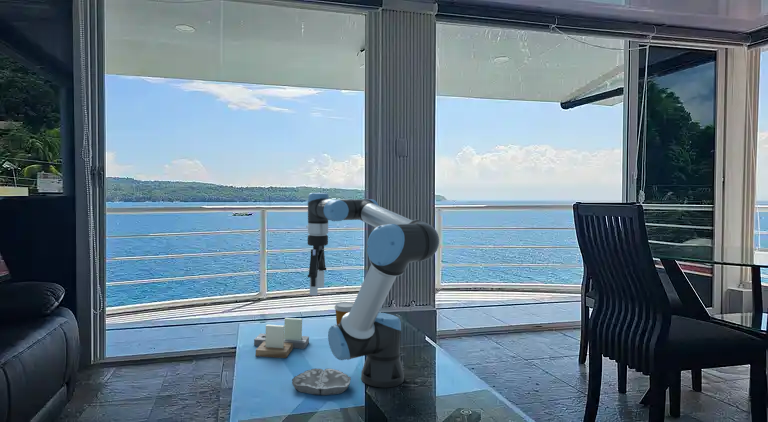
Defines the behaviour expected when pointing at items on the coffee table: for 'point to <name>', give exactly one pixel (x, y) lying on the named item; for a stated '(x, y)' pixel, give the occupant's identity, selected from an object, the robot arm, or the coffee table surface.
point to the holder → (274, 351)
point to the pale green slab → (274, 336)
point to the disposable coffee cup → (342, 310)
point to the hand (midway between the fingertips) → (317, 291)
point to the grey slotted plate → (296, 343)
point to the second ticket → (293, 328)
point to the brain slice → (321, 382)
